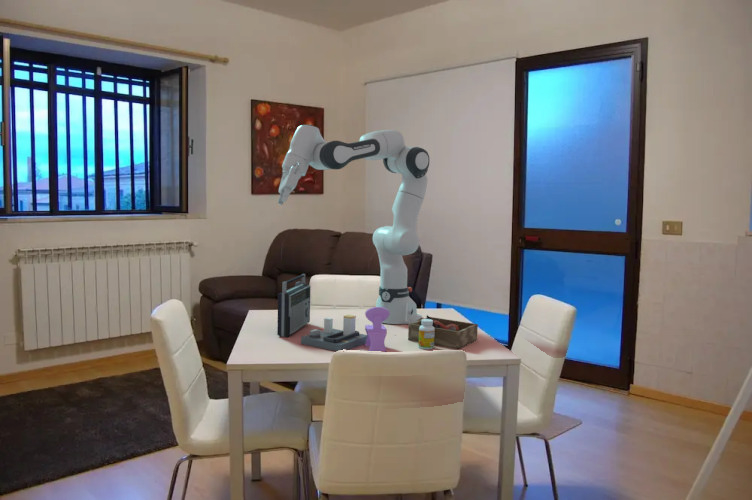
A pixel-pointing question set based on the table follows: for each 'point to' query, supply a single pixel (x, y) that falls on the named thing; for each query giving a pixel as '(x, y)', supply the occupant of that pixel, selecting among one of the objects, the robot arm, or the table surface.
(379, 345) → the toy chair
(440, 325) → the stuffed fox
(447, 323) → the wooden tray
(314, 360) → the table surface
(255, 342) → the table surface
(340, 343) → the console
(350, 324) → the white cylinder
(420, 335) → the supplement bottle
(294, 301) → the radio
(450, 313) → the table surface
